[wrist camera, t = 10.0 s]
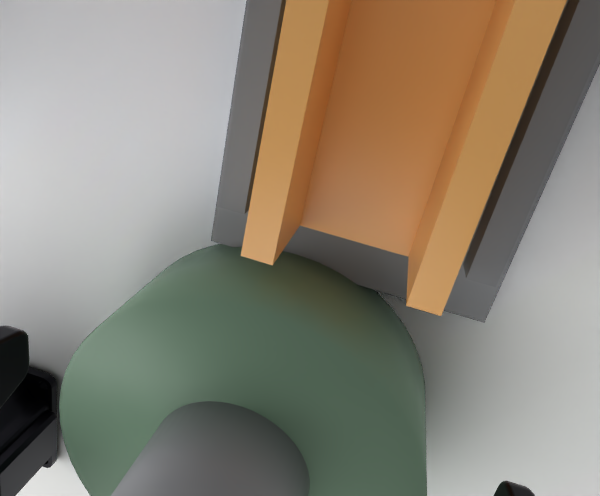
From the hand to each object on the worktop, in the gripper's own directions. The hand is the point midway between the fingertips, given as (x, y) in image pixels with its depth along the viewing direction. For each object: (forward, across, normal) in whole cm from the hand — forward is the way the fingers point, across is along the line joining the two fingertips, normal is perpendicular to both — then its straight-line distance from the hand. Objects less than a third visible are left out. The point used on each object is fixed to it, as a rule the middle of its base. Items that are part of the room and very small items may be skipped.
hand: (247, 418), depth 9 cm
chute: (+10, -1, -6) cm, 12 cm away
